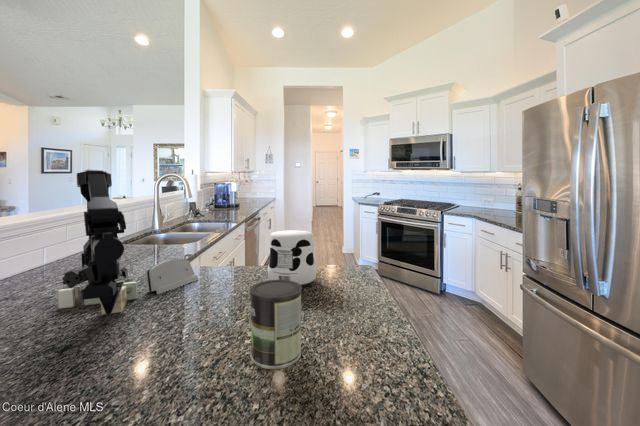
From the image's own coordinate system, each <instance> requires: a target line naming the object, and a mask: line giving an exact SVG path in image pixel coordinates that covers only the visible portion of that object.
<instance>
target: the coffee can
mask: <svg viewBox="0 0 640 426" xmlns="http://www.w3.org/2000/svg"><path fill="white" fill-rule="evenodd" d="M302 290H303V286H301V285H300V284H298V283H296V282H293V281H289V280H269V279H268V280H265V281H264V280H263V281H260V282H257V283H256V284H254V285H252V286H251V287H250V288H249V293H250V331H251V332H250V335H251V336H250V338H251V339H250V340H251V342H250V343H251V344H250V345H251V346H250V347H251V353H250V359H251V361H252V362H253V364H255V366H258V367H259V368H263V369H265V370H280V369H284V368H287V367H291V366H293V365H294V364H296V363H297V362H298V361H299V360H300V359H301V356H302Z"/></svg>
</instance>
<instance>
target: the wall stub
mask: <svg viewBox="0 0 640 426" xmlns="http://www.w3.org/2000/svg"><path fill="white" fill-rule="evenodd" d="M57 297H58V308H59V310H60V309H66V308H74V307H76V306H75V297H74V287H72V288H69V287H68V288H62V289H59V290H58V291H57Z"/></svg>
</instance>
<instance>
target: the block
mask: <svg viewBox="0 0 640 426" xmlns="http://www.w3.org/2000/svg"><path fill="white" fill-rule="evenodd" d="M127 304H128V300H127V295H126V286H123V287H122V288H121V291H120V293H119V296H118V298H117V300H116V303H115V305H114V308H113V311H112V313H111V314H115V313H122V312H123V311H124V308H125V306H126V305H127ZM100 309H101V315H107V314H106V312H105V310H104V307H103V305H102V303H100Z"/></svg>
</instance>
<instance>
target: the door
mask: <svg viewBox="0 0 640 426" xmlns="http://www.w3.org/2000/svg"><path fill="white" fill-rule="evenodd" d="M123 283H124V284H123V286H126V295H127V301H129V300H136V299H138V283H137V280H136V281H129V282H123ZM123 286H122V287H123ZM84 288H85V286H84V287H82V290H83V289H84ZM98 304H101V301H100V299H99V298H94V299H86V300H83V305H84V306H89V305H90V306H91V305H98Z"/></svg>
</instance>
